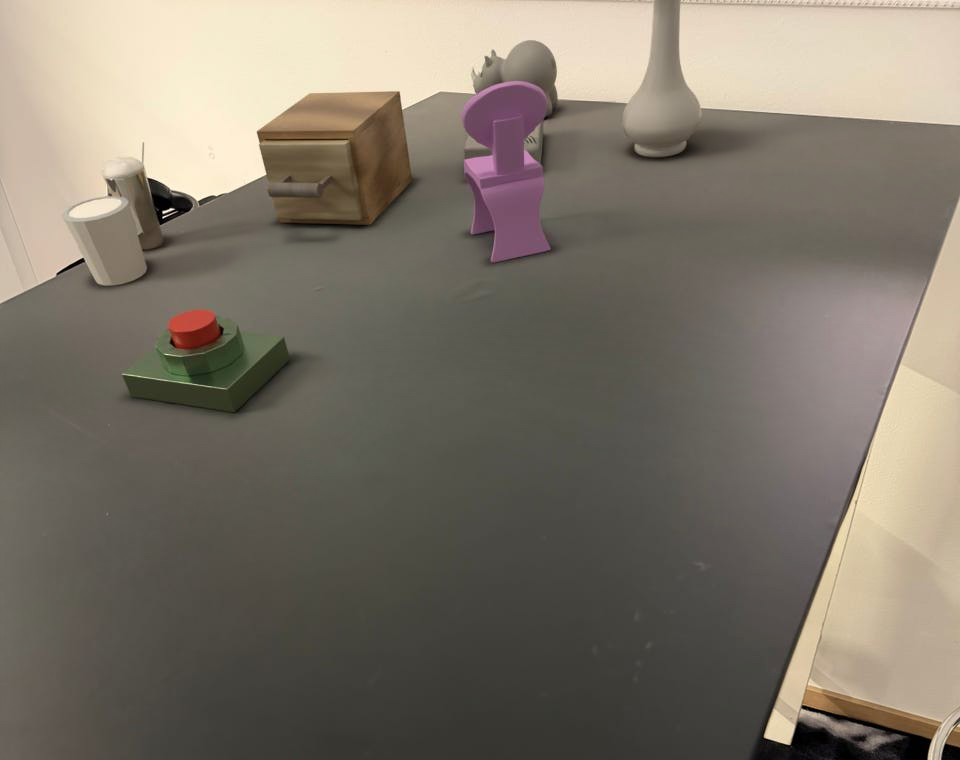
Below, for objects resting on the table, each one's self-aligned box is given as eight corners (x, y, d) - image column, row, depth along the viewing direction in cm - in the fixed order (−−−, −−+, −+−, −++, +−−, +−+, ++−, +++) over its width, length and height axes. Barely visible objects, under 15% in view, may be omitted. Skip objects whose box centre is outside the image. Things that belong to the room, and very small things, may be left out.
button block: (130, 396, 76) (112, 354, 73) (191, 346, 81) (176, 305, 79) (234, 412, 72) (219, 368, 69) (290, 359, 78) (278, 316, 75)
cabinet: (370, 224, 98) (353, 130, 91) (279, 222, 101) (256, 131, 94) (412, 180, 107) (399, 91, 100) (327, 179, 110) (309, 93, 103)
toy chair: (533, 218, 95) (525, 57, 84) (560, 248, 89) (555, 78, 78) (460, 234, 94) (442, 73, 83) (482, 265, 88) (465, 95, 77)
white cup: (165, 263, 96) (141, 196, 91) (124, 291, 92) (96, 222, 87) (118, 258, 98) (92, 192, 93) (76, 284, 94) (46, 218, 89)
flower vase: (585, 135, 112) (582, -120, 94) (733, 129, 108) (759, -139, 90) (571, 172, 103) (565, -102, 85) (732, 167, 99) (761, -121, 81)
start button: (165, 348, 74) (157, 329, 72) (193, 326, 76) (186, 307, 75) (203, 353, 72) (196, 333, 71) (230, 330, 75) (224, 311, 74)
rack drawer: (345, 235, 94) (329, 157, 89) (260, 233, 97) (240, 157, 91) (400, 179, 105) (388, 106, 99) (322, 178, 108) (307, 107, 102)
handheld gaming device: (466, 181, 105) (463, 146, 102) (476, 140, 115) (473, 108, 112) (539, 177, 104) (538, 142, 101) (543, 136, 114) (543, 103, 111)
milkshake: (181, 242, 100) (149, 147, 93) (136, 256, 98) (100, 160, 91) (169, 231, 103) (137, 137, 96) (125, 244, 101) (89, 150, 94)
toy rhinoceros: (483, 106, 125) (477, 36, 119) (564, 105, 122) (562, 32, 116) (467, 122, 121) (460, 50, 115) (550, 121, 117) (548, 47, 111)
